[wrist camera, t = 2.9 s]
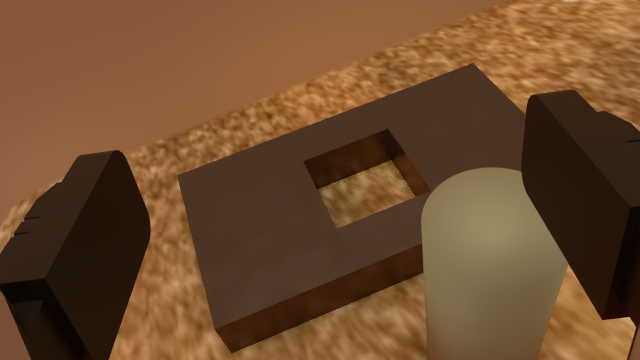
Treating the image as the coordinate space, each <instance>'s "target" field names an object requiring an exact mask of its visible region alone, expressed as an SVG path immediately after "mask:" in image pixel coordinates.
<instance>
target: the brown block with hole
mask: <svg viewBox="0 0 640 360" xmlns="http://www.w3.org/2000/svg"><path fill="white" fill-rule="evenodd" d="M525 119H526V115H525V114H524V113H523V112H522V111H521V110H520V109H519V108H518V107H517V106H516V105H515V104H514V103H513V102H512V101H511V100H510V99H509V98H508V97H507V96H506V95H505V94H504V93H503V92H502V91H501V90H500V89H499V88H498V87H497V86H496V85H495V84H494V83H493V82H492V81H491V80H490V79H489V78H487V77H486V76H485V75H484V74H483V73H482V72H481V71H480V70H479V69H478V68H477V67H476V66H475V65H474V64H473V63H472V64H469V65H467V66H464V67H462V68H459V69H456V70H454V71H451V72H448V73H446V74H443V75H440V76H438V77H435V78H433V79H430V80H427V81H425V82H422V83H419V84H417V85H414V86H412V87H409V88H406V89H404V90H401V91H398V92H396V93H393V94H390V95H388V96H385V97H383V98H380V99H377V100H375V101H372V102H369V103H367V104H364V105H361V106H359V107H356V108H354V109H351V110H348V111H346V112H343V113H340V114H338V115H335V116H333V117H330V118H327V119H325V120H322V121H319V122H317V123H314V124H311V125H309V126H306V127H304V128H301V129H298V130H296V131H293V132H290V133H288V134H285V135H283V136H280V137H277V138H275V139H272V140H269V141H267V142H264V143H261V144H259V145H256V146H254V147H251V148H248V149H246V150H243V151H240V152H238V153H235V154H232V155H230V156H227V157H225V158H222V159H219V160H217V161H214V162H211V163H209V164H206V165H204V166H201V167H198V168H196V169H193V170H190V171H188V172H185V173H182V174H180V175H177V176H178V180H179V185H180V189H181V193H182V197H183V201H184V205H185V209H186V213H187V217H188V221H189V226H190V230H191V234H192V238H193V242H194V246H195V250H196V254H197V258H198V263H199V267H200V271H201V275H202V279H203V283H204V287H205V291H206V295H207V299H208V304H209V308H210V312H211V316H212V320H213V324H214V328H215V330H216V332H217V333H218V334H219V336H220V337H221V339H222V340H223V341H224V343H225V344H226V346H227V347H228V348H229V350H230V351H231V353H233V352H235V351H237V350H240V349H242V348H245V347H247V346H249V345H252V344H254V343H256V342H259V341H261V340H264V339H266V338H268V337H271V336H273V335H275V334H278V333H280V332H283V331H285V330H287V329H290V328H292V327H294V326H297V325H299V324H302V323H304V322H306V321H309V320H311V319H313V318H316V317H318V316H321V315H323V314H325V313H328V312H330V311H332V310H335V309H337V308H339V307H342V306H344V305H347V304H349V303H351V302H354V301H356V300H358V299H361V298H363V297H366V296H368V295H370V294H373V293H375V292H377V291H380V290H382V289H385V288H387V287H389V286H392V285H394V284H396V283H399V282H401V281H404V280H406V279H408V278H411V277H413V276H415V275H418V274H420V273H422V272H424V269H423V249H422V229H421V218H422V212H423V208H424V205H425V203H426V201H427V199H428V198H429V196H430V194H431V193H432V192H433V191H434V190H435V189H436V188H437V187H438V186H439V185H440V184H441V183H442V182H444V181H446V180H447V179H449V178H450V177H452V176H454V175H456V174H459V173H462V172H464V171H468V170H472V169H478V168H489V167H494V168H506V169H512V170H517V171H520V172H521V160H522V149H523V139H524V129H525ZM389 160H392V161H393V163H394V164H395V166H396V167H397V169H398V170H399V172H400V173H401V175H402V176H403V178H404V179H405V181H406V182H407V184H408V185H409V187H410V188H411V190H412V191H413V193H414V194H415V196H416V197H415V198H412V199H410V200H408V201H405V202H403V203H400V204H398V205H395V206H393V207H390V208H388V209H385V210H383V211H380V212H378V213H375V214H373V215H370V216H368V217H366V218H363V219H361V220H358V221H356V222H353V223H351V224H348V225H346V226H343V227H341V228H338V229H336V227H335V225H334V223H333V221H332V219H331V217H330V215H329V213H328V211H327V209H326V207H325V205H324V203H323V201H322V199H321V197H320V194H319V192H318V190H317V189H318V188H320V187H323V186H325V185H328V184H330V183H333V182H335V181H338V180H340V179H343V178H345V177H348V176H351V175H353V174H356V173H358V172H361V171H363V170H366V169H368V168H371V167H373V166H376V165H378V164H381V163H384V162H386V161H389Z"/></svg>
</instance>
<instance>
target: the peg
mask: <svg viewBox="0 0 640 360" xmlns="http://www.w3.org/2000/svg"><path fill="white" fill-rule="evenodd" d="M421 229H422V249H423V269H424V288H425V308H426V328H427V348H428V360H537V358H538V355H539V352H540V348H541V345H542V342H543V339H544V336H545V333H546V330H547V327H548V324H549V321H550V318H551V315H552V312H553V309H554V305H555V302H556V299H557V296H558V293H559V290H560V287H561V284H562V281H563V278H564V275H565V272H566V269H567V266H568V262H567V260H566V259H565V257H564V255H563V254H562V252H561V250H560V249H559V247H558V245H557V244H556V242H555V240H554V239H553V237H552V235H551V234H550V232H549V230H548V229H547V227H546V225H545V223H544V222H543V220H542V218H541V217H540V215H539V213H538V212H537V210H536V208H535V207H534V205H533V203H532V202H531V200H530V198H529V197H528V195H527V193H526V191H525V188H524V185H523V180H522V174H521V172H520V171H517V170H512V169H506V168H494V167H489V168H478V169H472V170H468V171H464V172H462V173H459V174H456V175H454V176H452V177H450V178H449V179H447V180H446V181H444V182H442V183H441V184H440V185H439V186H438V187H437V188H436V189H435V190H434V191H433V192H432V193H431V194H430V196H429V198H428V199H427V201H426V203H425V205H424V208H423V212H422V218H421Z"/></svg>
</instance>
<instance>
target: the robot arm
mask: <svg viewBox="0 0 640 360" xmlns="http://www.w3.org/2000/svg"><path fill="white" fill-rule="evenodd" d="M521 174H522V180H523V185H524V188H525V191H526V193H527V195H528V197H529V198H530V200H531V202H532V203H533V205H534V207H535V208H536V210H537V212H538V213H539V215H540V217H541V218H542V220H543V222H544V223H545V225H546V227H547V229H548V230H549V232H550V234H551V235H552V237H553V239H554V240H555V242H556V244H557V245H558V247H559V249H560V250H561V252H562V254H563V255H564V257H565V259H566V260H567V262H568V264H569V265H570V267H571V269H572V270H573V272H574V274H575V275H576V277H577V279H578V280H579V282H580V284H581V285H582V287H583V289H584V290H585V292H586V294H587V296H588V297H589V299H590V301H591V302H592V304H593V306H594V307H595V309H596V311H597V312H598V314H599V316H600V317H601V319H602V320H607V319H615V318H624V317H630V318H631V320H632V321H633V323H634V324H635V326H636V330H635V333H634V336H633V340H632V343H631V347H630V350H629V353H628V357H627V360H640V132H639V131H638V130H637V129H636V128H635V127H634V126H633V125H632V124H631V123H630V122H627V121H625V120H623V119H621V118H619V117H617V116H614V115H612V114H610V113H608V112H606V111H601V112H596V111H595V110H594V109H593V108H592V107H591V106H590V105H589V104H588V102H587V101H586V100H585V99H584V98H583V97H582V96H581V95H580V94H579V93H578V92H576V91H575V90H564V91H557V92H550V93H542V94H535V95H532V96H531V97H530V98H529V100H528V103H527V109H526V119H525V129H524V139H523V149H522V160H521ZM24 220H25V221H24V222H21V224H20V225H19V227H18V228H17V230H16V231H15V233H14V237H11V238H10V240H9V241H8V243H7V244H6V246H5V247H4V249H3V250H2V252H1V253H0V360H109V357H110V354H111V351H112V348H113V345H114V342H115V339H116V336H117V334H118V331H119V328H120V325H121V322H122V319H123V316H124V313H125V310H126V307H127V304H128V302H129V299H130V296H131V293H132V290H133V287H134V284H135V281H136V278H137V275H138V272H139V270H140V267H141V264H142V261H143V258H144V255H145V252H146V249H147V246H148V243H149V240H150V232H151V228H150V219H149V214H148V211H147V208H146V206H145V203H144V201H143V199H142V196H141V194H140V191H139V189H138V186H137V184H136V181H135V179H134V176H133V174H132V172H131V169H130V167H129V164H128V162H127V160H126V158H125V156H124V155H123V153H122V152H120V151H119V150H114V151H107V152H100V153H93V154H85V155H80V156H78V157H77V158H76V160H75V162H74V163H73V165H72V166H71V168H70V169H69V171H68V172H67V174H66V176H65V177H64V179H63V180H62V182H60V183H56V184H55V185H54V186H53V187H51V188H50V189H49V190H48V191H47V192H45V193H44V194H43V195H42V196H40V197H39V198H38V199H37V200H36V201H35V203H34V204H33V206H32V207H31V209H30V210H29V212H28V213H27V215H26V216H25V218H24Z"/></svg>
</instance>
